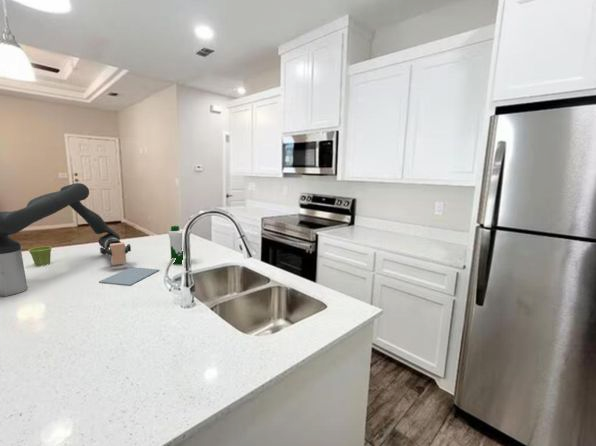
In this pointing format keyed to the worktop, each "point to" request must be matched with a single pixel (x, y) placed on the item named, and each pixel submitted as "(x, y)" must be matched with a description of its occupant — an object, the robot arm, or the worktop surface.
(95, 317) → the worktop surface
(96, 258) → the worktop surface
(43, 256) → the plant pot
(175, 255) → the milk carton
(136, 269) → the mat
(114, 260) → the terracotta block
